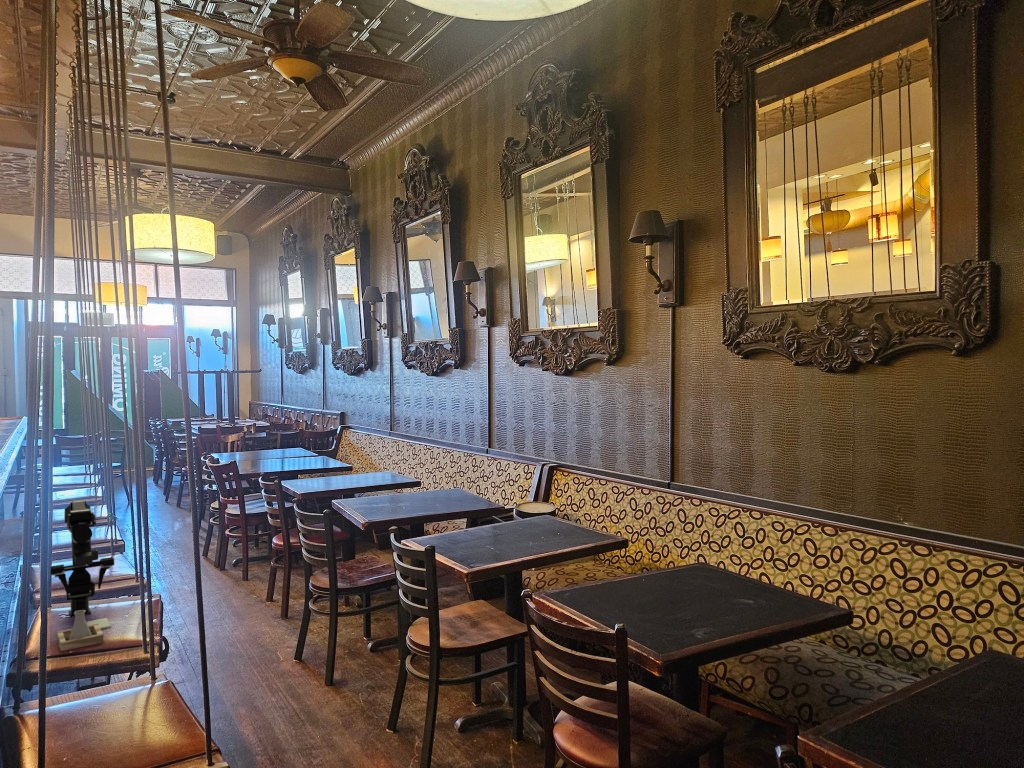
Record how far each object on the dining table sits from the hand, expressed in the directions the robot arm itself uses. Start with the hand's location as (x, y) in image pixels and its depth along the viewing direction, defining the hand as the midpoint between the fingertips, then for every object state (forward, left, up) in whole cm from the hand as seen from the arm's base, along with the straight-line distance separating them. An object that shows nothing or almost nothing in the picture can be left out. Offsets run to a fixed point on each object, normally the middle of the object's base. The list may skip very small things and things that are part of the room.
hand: (83, 591), depth 234 cm
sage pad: (-6, +4, -15) cm, 17 cm away
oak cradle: (+5, -2, -15) cm, 16 cm away
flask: (+5, -2, -15) cm, 16 cm away
